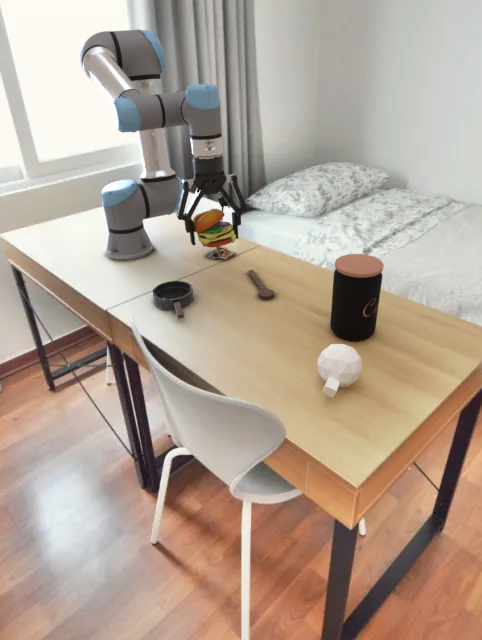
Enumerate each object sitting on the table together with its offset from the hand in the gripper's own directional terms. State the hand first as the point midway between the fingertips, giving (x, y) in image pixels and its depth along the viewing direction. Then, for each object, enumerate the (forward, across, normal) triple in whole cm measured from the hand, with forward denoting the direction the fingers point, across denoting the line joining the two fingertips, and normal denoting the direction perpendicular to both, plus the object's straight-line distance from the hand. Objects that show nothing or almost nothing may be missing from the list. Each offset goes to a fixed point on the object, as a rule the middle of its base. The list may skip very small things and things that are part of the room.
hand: (214, 240), depth 124 cm
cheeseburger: (+1, 0, 0) cm, 1 cm away
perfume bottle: (+16, +13, -48) cm, 52 cm away
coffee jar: (+16, +26, -31) cm, 43 cm away
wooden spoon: (+16, +12, -1) cm, 20 cm away
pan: (+16, -13, -1) cm, 20 cm away
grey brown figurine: (+16, +6, +25) cm, 30 cm away
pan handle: (+16, -13, -11) cm, 23 cm away
